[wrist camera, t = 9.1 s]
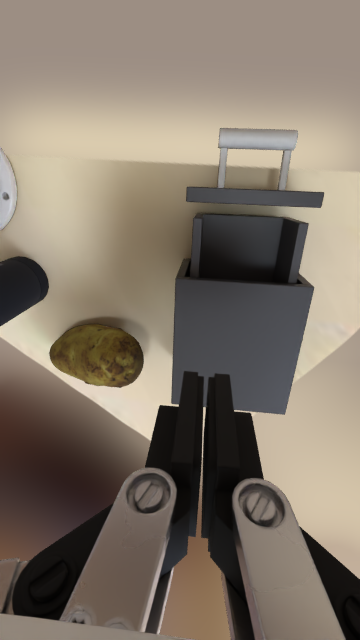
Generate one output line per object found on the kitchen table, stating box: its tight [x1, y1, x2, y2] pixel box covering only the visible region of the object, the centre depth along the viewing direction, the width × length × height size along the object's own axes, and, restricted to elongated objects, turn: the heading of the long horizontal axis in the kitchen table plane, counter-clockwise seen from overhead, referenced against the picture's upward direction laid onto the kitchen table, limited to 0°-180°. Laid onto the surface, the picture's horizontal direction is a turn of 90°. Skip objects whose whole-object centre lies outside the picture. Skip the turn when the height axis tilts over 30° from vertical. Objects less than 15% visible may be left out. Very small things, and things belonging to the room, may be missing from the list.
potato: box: [49, 324, 144, 388], centre depth 38 cm, size 8×13×8 cm, turn 78°
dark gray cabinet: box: [171, 259, 314, 414], centre depth 34 cm, size 15×13×9 cm
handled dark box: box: [186, 128, 324, 284], centre depth 30 cm, size 18×11×7 cm, turn 178°
